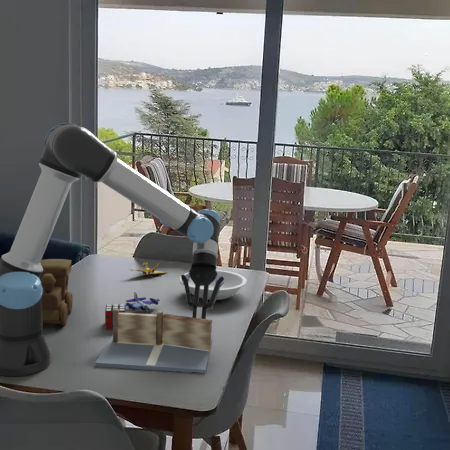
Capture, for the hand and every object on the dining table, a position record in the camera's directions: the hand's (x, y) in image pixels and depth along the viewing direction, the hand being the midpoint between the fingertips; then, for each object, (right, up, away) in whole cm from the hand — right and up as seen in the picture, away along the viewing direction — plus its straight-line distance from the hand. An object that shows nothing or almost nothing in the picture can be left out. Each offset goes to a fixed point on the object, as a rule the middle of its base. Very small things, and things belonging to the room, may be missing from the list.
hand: (197, 330), depth 171 cm
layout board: (-11, -6, -1) cm, 13 cm away
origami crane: (-22, +9, +68) cm, 72 cm away
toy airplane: (-19, +1, +29) cm, 35 cm away
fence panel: (-3, -4, 0) cm, 5 cm away
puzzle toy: (-26, -2, +17) cm, 31 cm away
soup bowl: (+3, +4, +47) cm, 47 cm away
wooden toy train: (-47, 0, +21) cm, 51 cm away
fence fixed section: (-17, -4, +2) cm, 18 cm away
